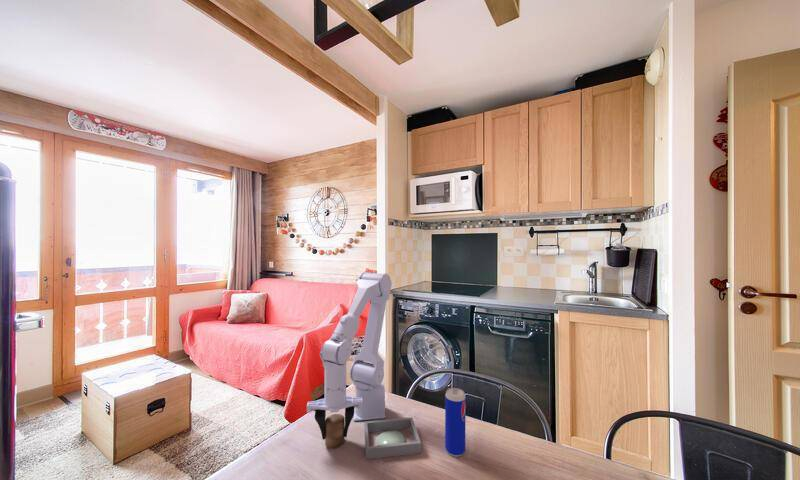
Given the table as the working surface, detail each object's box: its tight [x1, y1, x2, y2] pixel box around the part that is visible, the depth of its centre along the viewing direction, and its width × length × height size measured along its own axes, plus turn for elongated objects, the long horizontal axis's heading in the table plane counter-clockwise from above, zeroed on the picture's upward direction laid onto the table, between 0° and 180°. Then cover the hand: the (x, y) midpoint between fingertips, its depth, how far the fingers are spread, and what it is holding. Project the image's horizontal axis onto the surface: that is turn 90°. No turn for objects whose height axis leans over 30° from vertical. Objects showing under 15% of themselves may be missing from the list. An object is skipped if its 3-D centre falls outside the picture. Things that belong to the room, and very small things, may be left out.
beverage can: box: [444, 387, 467, 458], centre depth 74 cm, size 5×5×15 cm
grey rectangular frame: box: [363, 416, 422, 460], centre depth 77 cm, size 14×11×2 cm
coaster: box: [376, 430, 406, 446], centre depth 77 cm, size 8×8×1 cm
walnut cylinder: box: [324, 413, 345, 449], centre depth 77 cm, size 5×5×6 cm
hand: (334, 435), depth 77 cm, fingers closed on walnut cylinder, 5 cm apart
